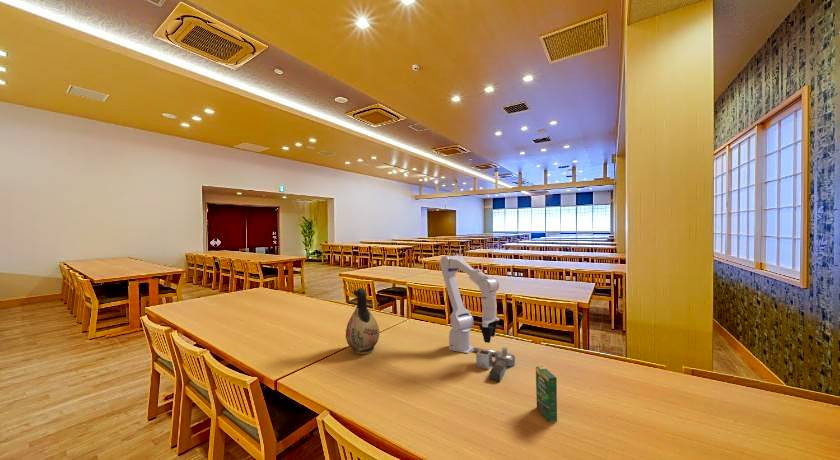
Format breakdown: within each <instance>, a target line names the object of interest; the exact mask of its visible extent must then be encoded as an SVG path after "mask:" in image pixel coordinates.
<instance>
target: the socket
mask: <svg viewBox="0 0 840 460" xmlns="http://www.w3.org/2000/svg"><path fill="white" fill-rule="evenodd" d="M483 349H484V348H481V349H480V350H479V351H478V352H476V353H475V354H476V355H475V357H476V358H475V359H476V360H475V363H476V365H475V366H476V368H479V369H483V370H489V371H490V369H491V367H493V355H492V351H493V350H492V351H488V350H489V349H487V350H483Z"/></svg>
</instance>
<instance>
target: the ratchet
mask: <svg viewBox="0 0 840 460" xmlns="http://www.w3.org/2000/svg"><path fill="white" fill-rule="evenodd" d="M494 363H495V364H494V365H492V368H490V369H491V370H489V381H492V382H497V383H501V381H502V379H503V377H504V376H505V374H506V371H507V370H508V369H510V368H514V367H515V366H516V356H515V355H514V354H513V353H510V352H509V348H508V347H505V346H502V348H501V352H500V353H497V354H495V355H494Z"/></svg>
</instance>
